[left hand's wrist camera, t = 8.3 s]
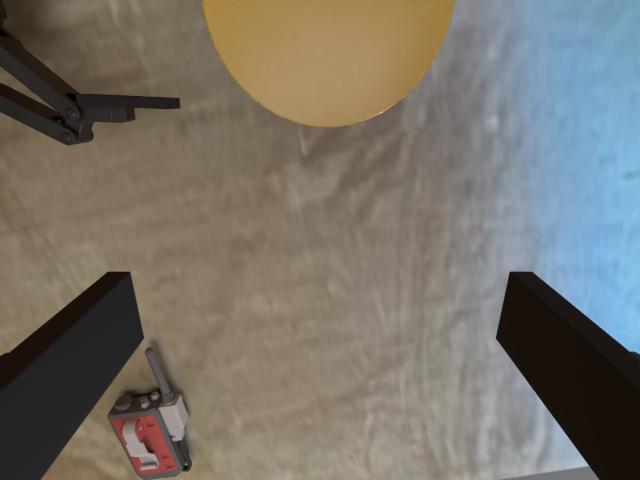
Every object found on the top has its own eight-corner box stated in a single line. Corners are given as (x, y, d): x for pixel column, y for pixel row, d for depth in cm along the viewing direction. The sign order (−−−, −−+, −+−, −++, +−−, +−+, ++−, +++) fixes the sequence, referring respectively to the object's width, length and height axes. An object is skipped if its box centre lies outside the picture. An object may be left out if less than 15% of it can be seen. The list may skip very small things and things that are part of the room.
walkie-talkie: (208, 458, 51) (161, 339, 44) (198, 489, 47) (145, 364, 39) (148, 465, 51) (92, 350, 44) (133, 497, 47) (69, 375, 40)
